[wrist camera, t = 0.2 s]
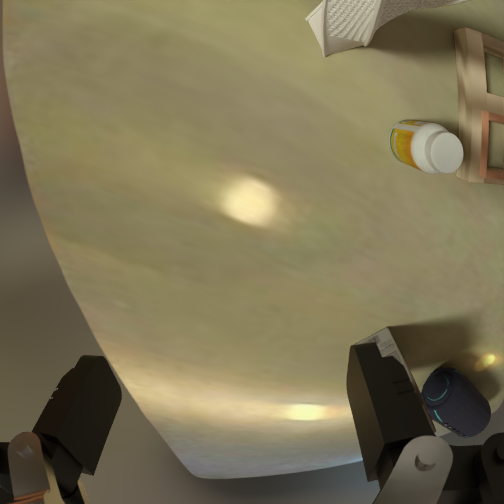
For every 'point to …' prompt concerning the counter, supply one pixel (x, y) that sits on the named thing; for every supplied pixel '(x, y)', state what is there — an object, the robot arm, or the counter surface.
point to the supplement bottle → (426, 146)
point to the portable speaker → (455, 402)
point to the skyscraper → (359, 20)
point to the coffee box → (391, 348)
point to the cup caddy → (476, 104)
